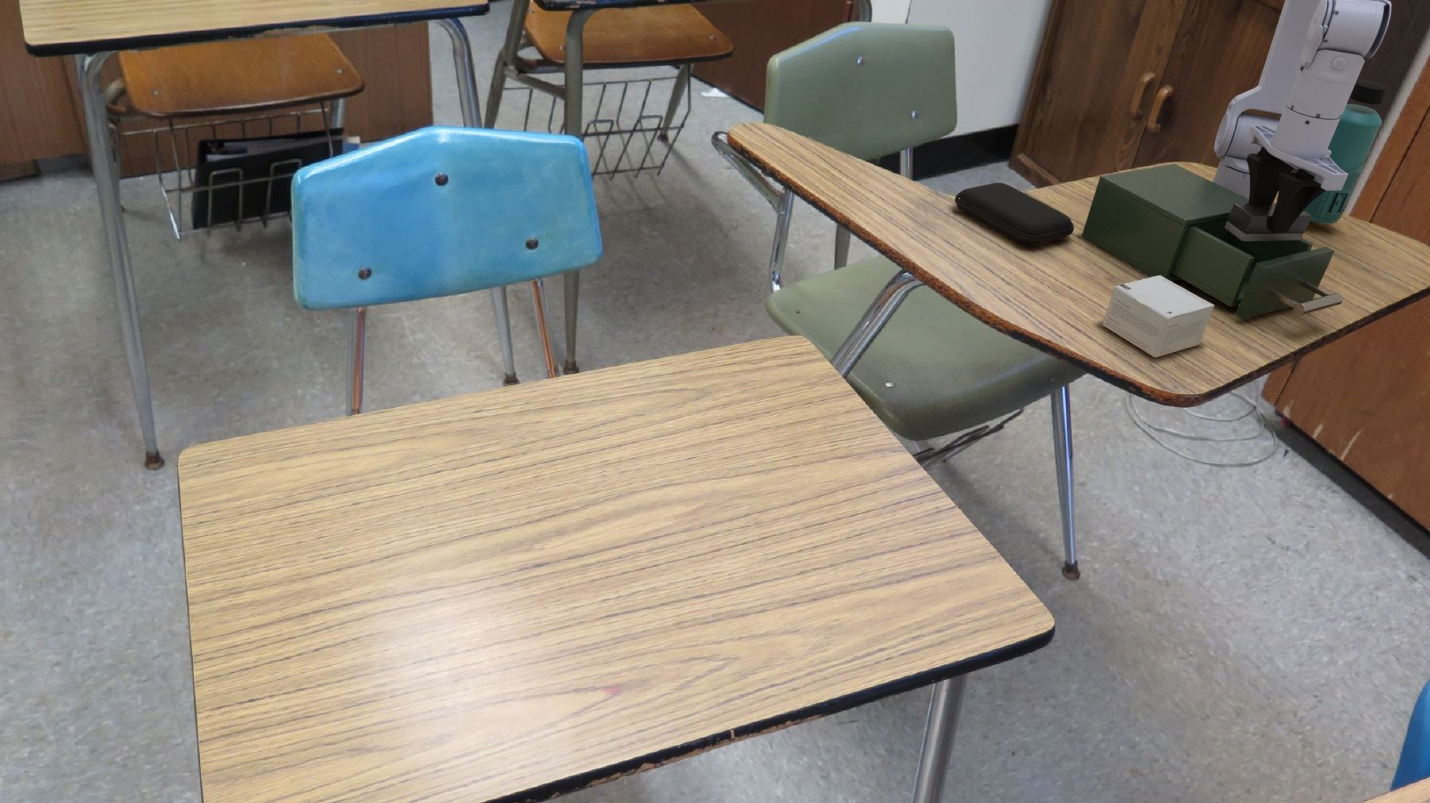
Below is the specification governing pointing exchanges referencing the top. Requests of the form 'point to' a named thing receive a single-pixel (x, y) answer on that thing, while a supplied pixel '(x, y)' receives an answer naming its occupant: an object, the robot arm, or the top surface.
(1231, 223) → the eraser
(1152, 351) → the small box
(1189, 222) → the cabinet
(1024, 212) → the carrying case
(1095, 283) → the top surface
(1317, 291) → the drawer
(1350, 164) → the beverage bottle
